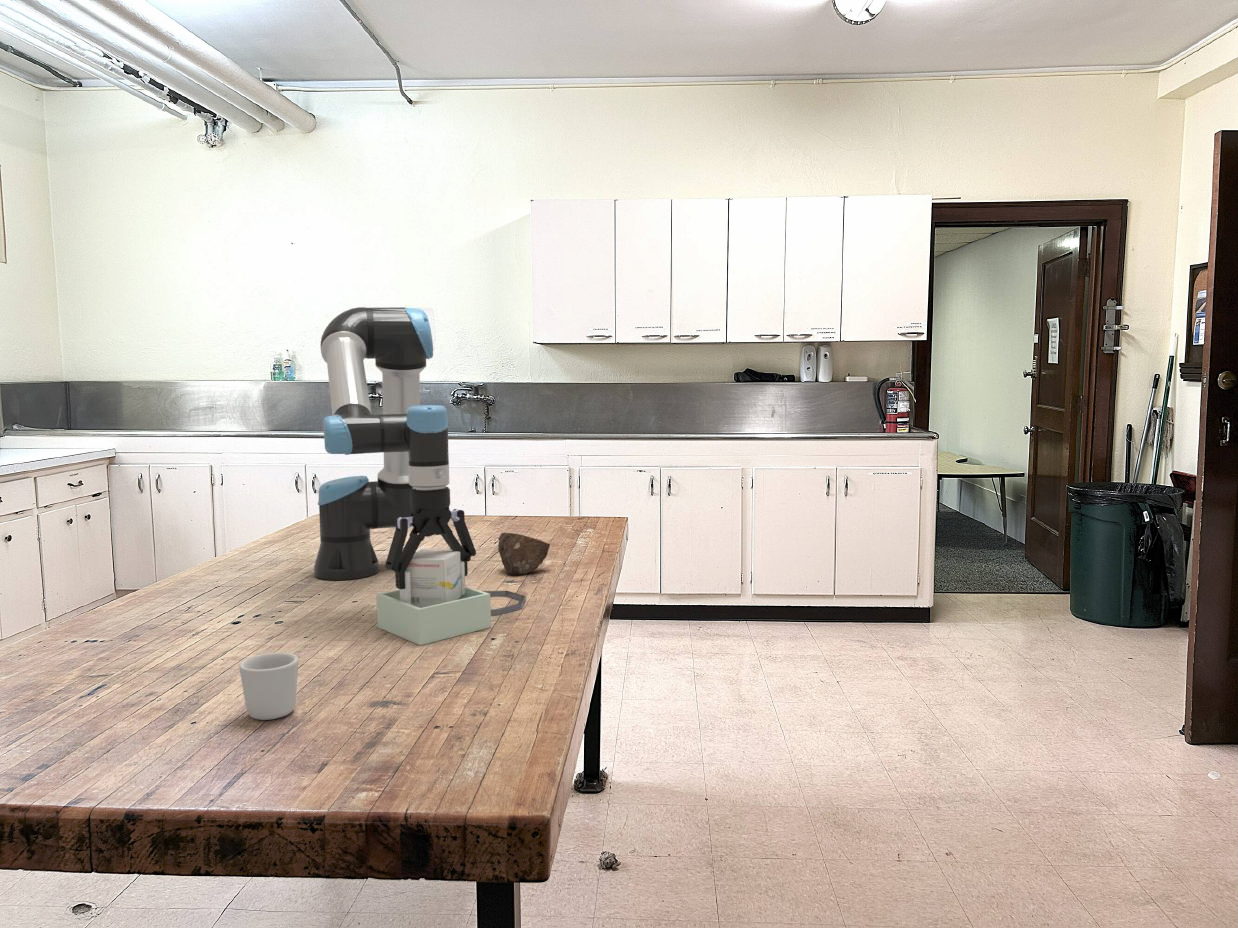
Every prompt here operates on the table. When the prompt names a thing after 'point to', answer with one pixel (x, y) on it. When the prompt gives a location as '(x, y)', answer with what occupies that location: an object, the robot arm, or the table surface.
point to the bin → (434, 616)
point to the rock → (521, 553)
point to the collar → (508, 608)
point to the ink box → (435, 577)
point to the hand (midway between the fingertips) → (433, 599)
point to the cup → (269, 684)
